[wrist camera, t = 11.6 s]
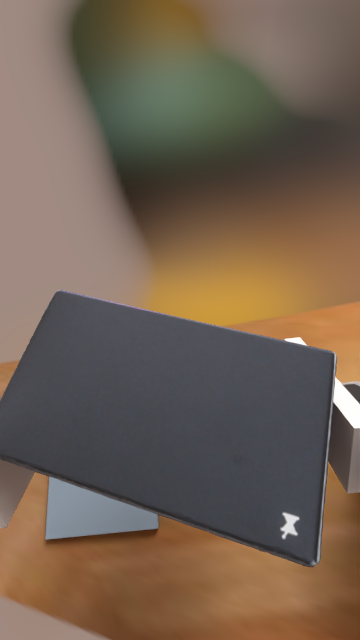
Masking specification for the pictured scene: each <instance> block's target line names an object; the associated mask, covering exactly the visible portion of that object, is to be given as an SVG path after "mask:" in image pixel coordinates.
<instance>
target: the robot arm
mask: <svg viewBox="0 0 360 640" xmlns="http://www.w3.org/2000/svg"><path fill="white" fill-rule="evenodd" d="M284 341H289V342H293V343H298V344H302V345H306V344H305V343H304V342H303V341H302V339H301V338H300V337H299V338H290V339H284ZM306 346H307V345H306ZM328 461H329V463H330V465H331V466H332V468H333V470H334V471H335V473H336V475H337V477H338V478H339V480H340V482H341V483H342V485H343V487H344V489H345V490H346V492H347V494H349V493H360V386H358V385H356V384H346V385H342V384H341V383H340V382H339V381H338V379H337V378H336V377H335V388H334V397H333V413H332V424H331V435H330V443H329V454H328ZM34 473H35V471H32V470H29V469H26V468H24V467H21V466H18V465H15V464H13V463H10V462H7V461H4V460H1V459H0V528H6V527H7V526H8V524H9V522H10V520H11V518H12V516H13V514H14V512H15V510H16V508H17V506H18V504H19V502H20V500H21V498H22V496H23V494H24V492H25V490H26V488H27V486H28V484H29V482H30V480H31V479H32V477H33V475H34Z"/></svg>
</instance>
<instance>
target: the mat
mask: <svg viewBox="0 0 360 640" xmlns="http://www.w3.org/2000/svg"><path fill="white" fill-rule="evenodd" d="M158 528H159V522H158V514H155V513H152V512H149V511H146V510H143V509H140V508H137V507H135V506H132V505H129V504H126V503H123V502H120V501H117V500H114V499H111V498H108V497H106V496H103V495H100V494H98V493H95V492H92V491H89V490H86V489H83V488H80V487H77V486H75V485H72V484H69V483H67V482H63V481H61V480H59V479H56V478H53V477H50V476H49V492H48V507H47V522H46V538H45V540H46V539H56V538H67V537H77V536H87V535H97V534H107V533H118V532H128V531H138V530H148V529H158Z"/></svg>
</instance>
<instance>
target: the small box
mask: <svg viewBox="0 0 360 640" xmlns="http://www.w3.org/2000/svg"><path fill="white" fill-rule="evenodd" d="M336 363H337V356H336V354H335V353H334V352H332V351H329V350H324V349H319V348H316V347H311V346H306V345H302V344H298V343H293V342H289V341H284V340H280V339H275V338H270V337H266V336H261V335H257V334H252V333H248V332H243V331H239V330H234V329H230V328H225V327H221V326H216V325H212V324H207V323H203V322H198V321H194V320H189V319H185V318H180V317H176V316H171V315H167V314H163V313H159V312H154V311H150V310H146V309H141V308H137V307H132V306H128V305H123V304H119V303H115V302H111V301H106V300H102V299H98V298H94V297H89V296H85V295H80V294H76V293H72V292H67V291H63V290H58V291H57V292H56V293H55V295H54V296H53V298H52V300H51V301H50V303H49V305H48V307H47V309H46V310H45V312H44V314H43V316H42V319H41V320H40V322H39V324H38V326H37V328H36V330H35V332H34V334H33V336H32V338H31V340H30V343H29V344H28V346H27V348H26V350H25V352H24V354H23V355H22V358H21V360H20V362H19V364H18V366H17V368H16V370H15V372H14V374H13V376H12V378H11V380H10V382H9V384H8V386H7V388H6V390H5V392H4V394H3V396H2V398H1V400H0V459H1V460H4V461H7V462H10V463H13V464H15V465H18V466H21V467H24V468H26V469H29V470H32V471H35V472H38V473H40V474H43V475H46V476H50V477H53V478H56V479H59V480H61V481H63V482H67V483H69V484H72V485H75V486H77V487H80V488H83V489H86V490H89V491H92V492H95V493H98V494H100V495H103V496H106V497H108V498H111V499H114V500H117V501H120V502H123V503H126V504H129V505H132V506H135V507H137V508H140V509H143V510H146V511H149V512H152V513H155V514H158V515H161V516H164V517H167V518H170V519H173V520H176V521H179V522H181V523H184V524H187V525H189V526H192V527H195V528H198V529H201V530H204V531H207V532H210V533H212V534H215V535H217V536H220V537H223V538H226V539H229V540H232V541H235V542H237V543H240V544H243V545H246V546H249V547H252V548H255V549H258V550H260V551H263V552H268V553H270V554H273V555H275V556H278V557H281V558H284V559H287V560H290V561H293V562H295V563H298V564H301V565H304V566H307V567H314V566H315V565H317V564H318V563H319V562H320V558H321V537H322V528H323V512H324V503H325V490H326V482H327V470H328V454H329V443H330V435H331V424H332V413H333V397H334V388H335V374H336Z"/></svg>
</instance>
